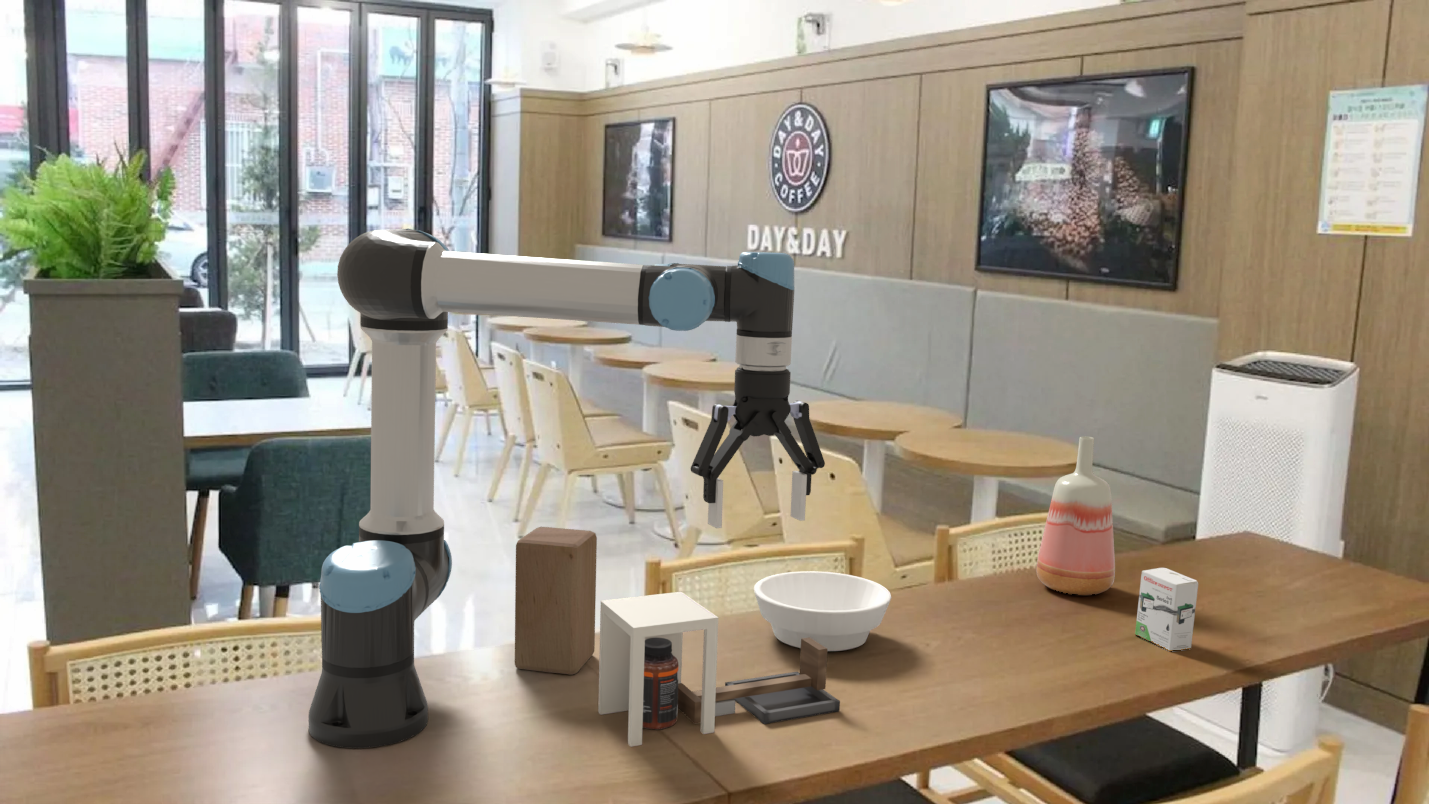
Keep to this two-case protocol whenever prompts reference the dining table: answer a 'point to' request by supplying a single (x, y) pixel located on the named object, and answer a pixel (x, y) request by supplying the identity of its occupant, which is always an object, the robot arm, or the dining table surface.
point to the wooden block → (555, 599)
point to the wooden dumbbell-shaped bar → (764, 682)
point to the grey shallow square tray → (787, 702)
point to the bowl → (821, 607)
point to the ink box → (1166, 608)
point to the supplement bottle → (660, 684)
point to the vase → (1079, 531)
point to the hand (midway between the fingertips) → (756, 522)
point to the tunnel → (625, 648)
